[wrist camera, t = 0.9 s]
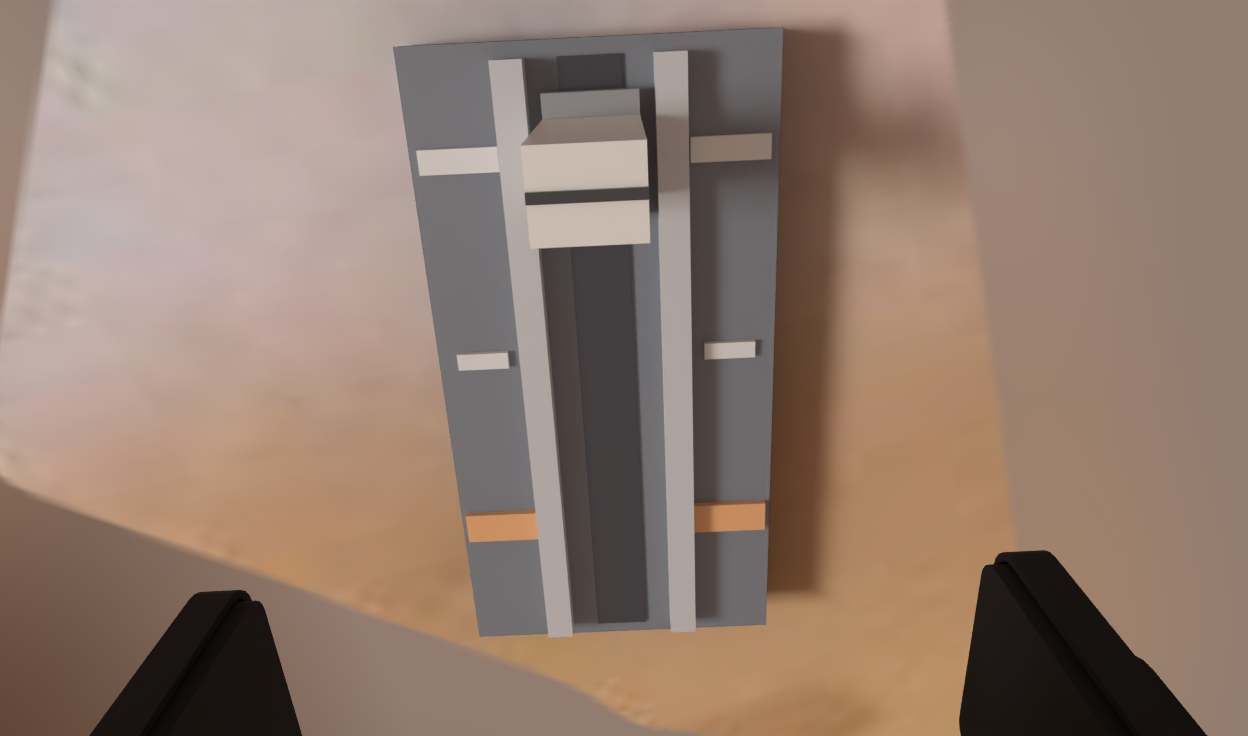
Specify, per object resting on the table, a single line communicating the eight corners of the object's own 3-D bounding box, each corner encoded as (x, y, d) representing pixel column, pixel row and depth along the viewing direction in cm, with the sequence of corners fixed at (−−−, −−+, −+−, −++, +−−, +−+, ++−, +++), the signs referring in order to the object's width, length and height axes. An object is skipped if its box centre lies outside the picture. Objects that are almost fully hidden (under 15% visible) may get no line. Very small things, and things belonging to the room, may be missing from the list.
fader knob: (542, 91, 25) (517, 113, 19) (638, 87, 25) (645, 106, 19) (552, 220, 26) (532, 279, 20) (643, 215, 26) (651, 273, 20)
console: (408, 45, 26) (386, 47, 24) (771, 27, 26) (788, 27, 24) (486, 604, 35) (476, 650, 33) (758, 593, 35) (769, 637, 33)
